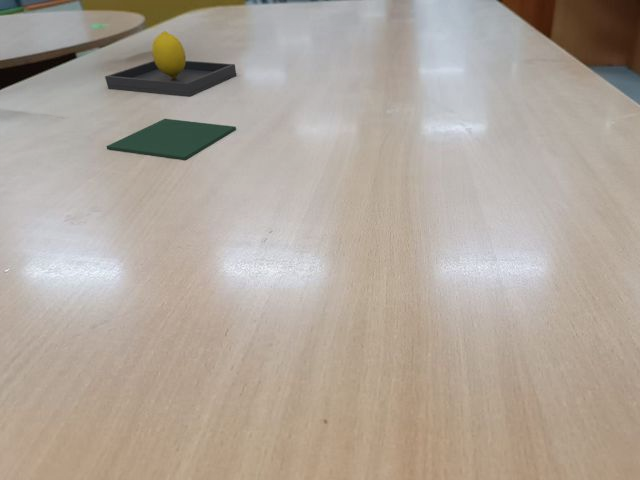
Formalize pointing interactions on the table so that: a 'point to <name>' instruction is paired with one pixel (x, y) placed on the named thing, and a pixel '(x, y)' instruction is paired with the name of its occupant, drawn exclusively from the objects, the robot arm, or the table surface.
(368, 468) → the table surface
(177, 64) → the lemon
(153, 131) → the mat
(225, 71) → the tray
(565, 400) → the table surface
